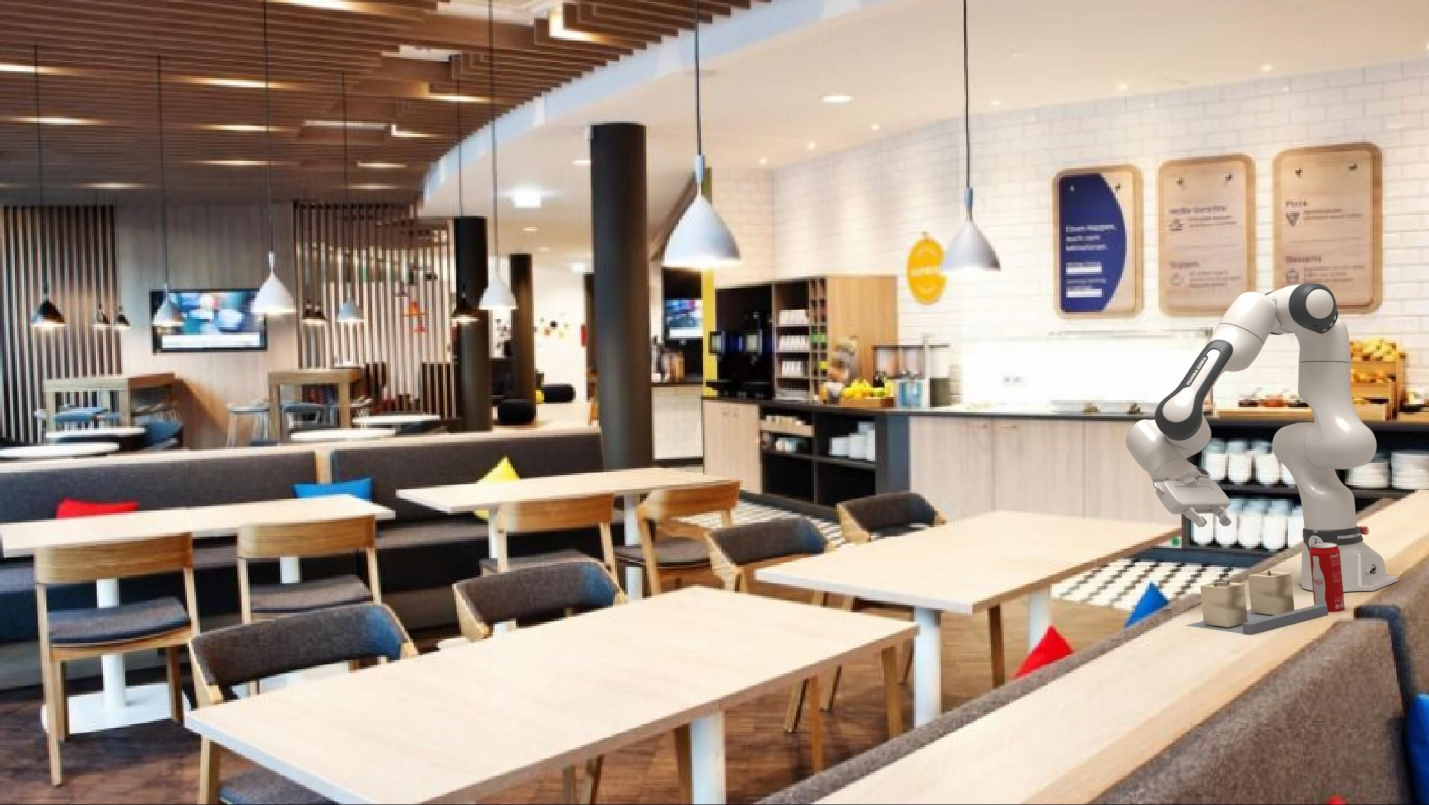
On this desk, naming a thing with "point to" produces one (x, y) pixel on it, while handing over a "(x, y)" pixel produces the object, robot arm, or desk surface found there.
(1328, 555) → the beverage can
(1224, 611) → the wooden digit block 2
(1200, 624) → the grey ledged board
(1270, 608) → the wooden number block 1
